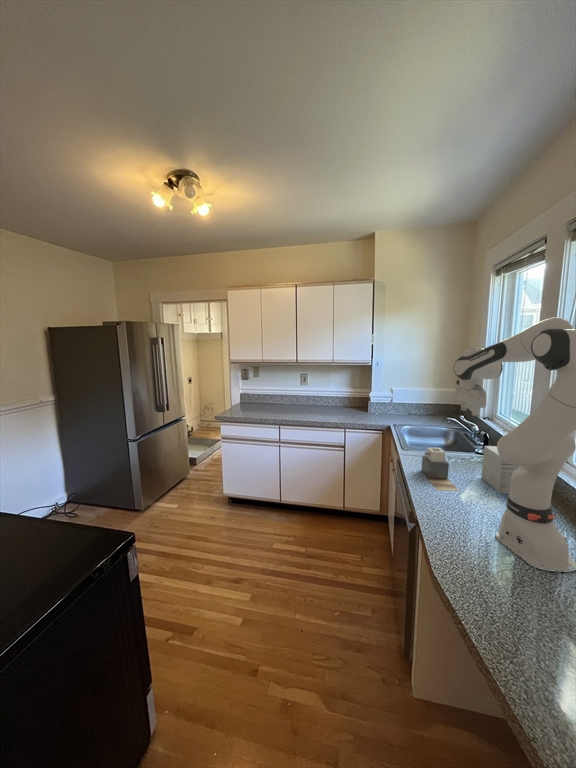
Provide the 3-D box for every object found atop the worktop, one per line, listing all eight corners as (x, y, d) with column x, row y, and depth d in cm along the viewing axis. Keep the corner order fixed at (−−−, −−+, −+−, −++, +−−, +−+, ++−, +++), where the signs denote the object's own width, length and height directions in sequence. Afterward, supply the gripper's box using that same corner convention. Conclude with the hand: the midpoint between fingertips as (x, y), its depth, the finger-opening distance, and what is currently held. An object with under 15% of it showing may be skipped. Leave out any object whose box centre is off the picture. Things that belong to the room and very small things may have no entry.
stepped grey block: (447, 479, 148) (449, 457, 147) (428, 478, 149) (429, 457, 147) (439, 471, 157) (441, 450, 155) (421, 470, 158) (422, 450, 156)
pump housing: (444, 462, 149) (445, 452, 148) (427, 461, 149) (427, 452, 148) (439, 457, 154) (439, 447, 154) (422, 457, 155) (423, 447, 154)
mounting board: (459, 493, 138) (459, 490, 138) (437, 493, 138) (437, 490, 138) (439, 473, 158) (439, 470, 158) (419, 472, 159) (420, 469, 159)
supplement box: (527, 494, 137) (532, 457, 134) (496, 493, 138) (500, 456, 135) (508, 480, 150) (512, 446, 147) (480, 479, 151) (483, 445, 148)
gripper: (492, 387, 131) (489, 419, 133) (467, 380, 151) (464, 407, 153) (476, 387, 131) (473, 419, 133) (454, 380, 151) (451, 407, 153)
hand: (468, 413), depth 143 cm, fingers open, 8 cm apart
